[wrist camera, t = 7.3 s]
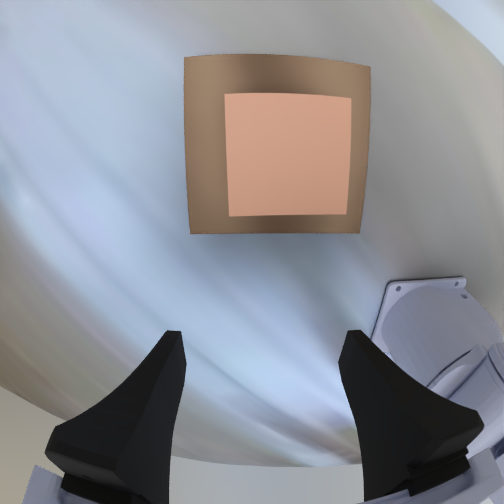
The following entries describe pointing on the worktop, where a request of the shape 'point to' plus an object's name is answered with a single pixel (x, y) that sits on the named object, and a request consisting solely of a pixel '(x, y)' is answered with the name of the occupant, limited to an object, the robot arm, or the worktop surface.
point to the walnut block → (214, 135)
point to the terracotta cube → (287, 153)
